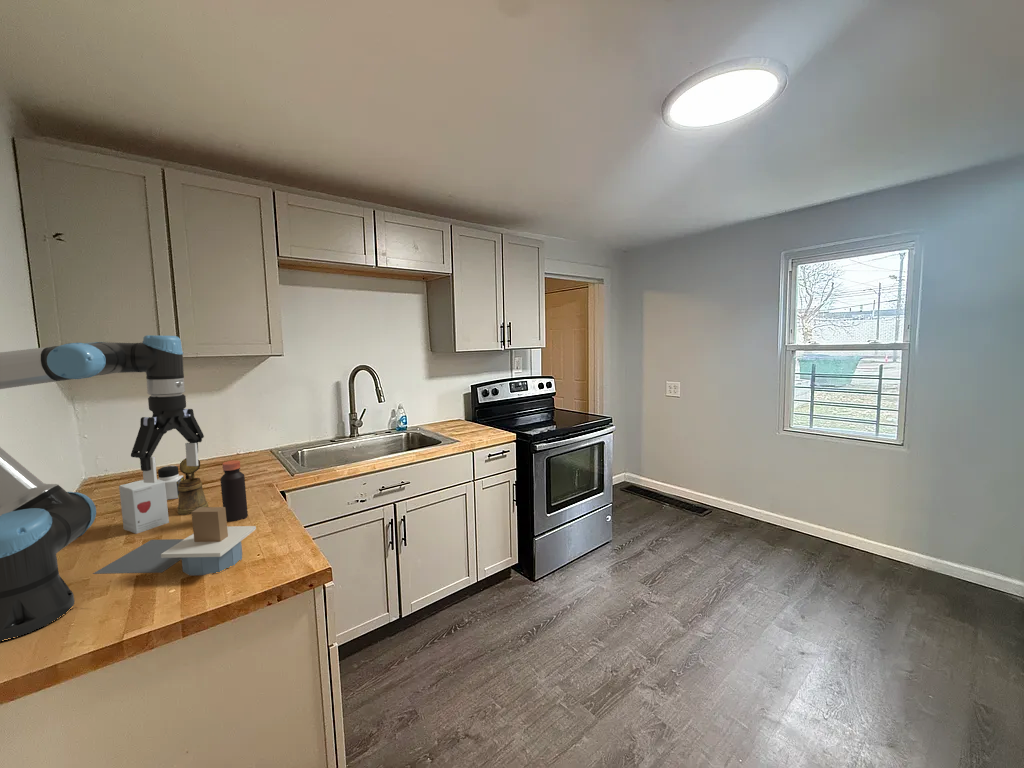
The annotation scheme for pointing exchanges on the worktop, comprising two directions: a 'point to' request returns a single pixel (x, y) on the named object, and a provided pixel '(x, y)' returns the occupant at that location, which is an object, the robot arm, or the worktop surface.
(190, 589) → the worktop surface
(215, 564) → the bowl
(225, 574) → the worktop surface
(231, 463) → the vinegar
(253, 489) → the worktop surface
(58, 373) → the robot arm
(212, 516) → the lid
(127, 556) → the mat
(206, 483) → the worktop surface
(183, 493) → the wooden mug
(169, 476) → the medicine bottle
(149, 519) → the supplement box
